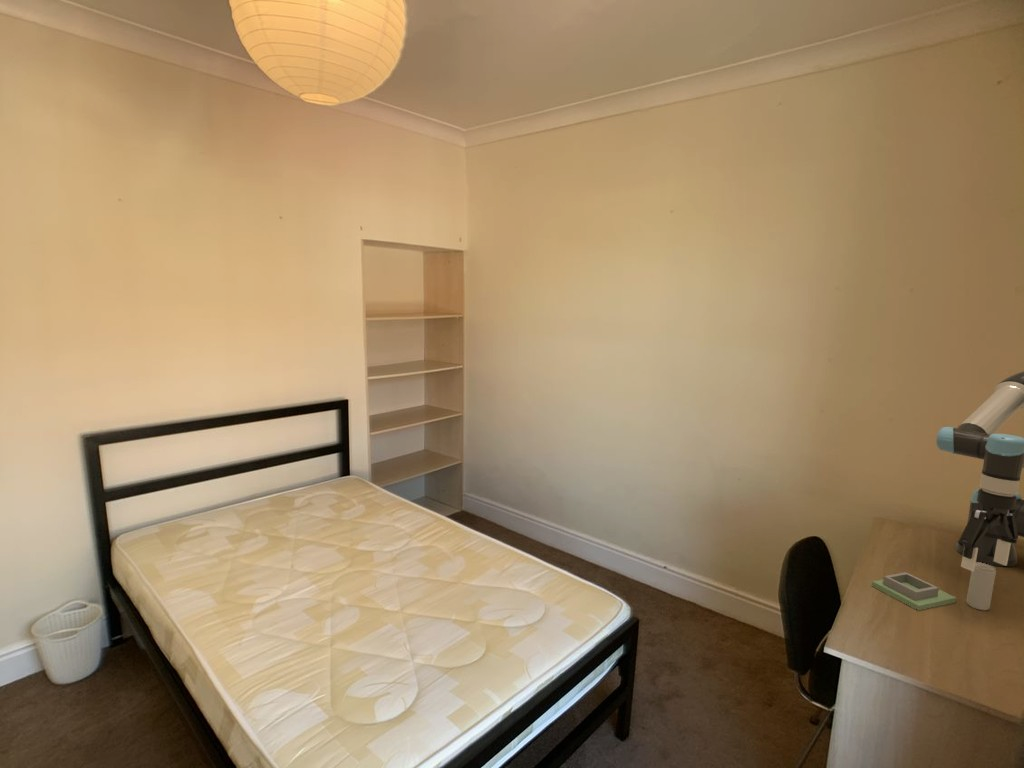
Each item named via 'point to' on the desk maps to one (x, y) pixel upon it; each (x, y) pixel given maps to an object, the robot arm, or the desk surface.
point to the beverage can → (981, 586)
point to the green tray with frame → (913, 591)
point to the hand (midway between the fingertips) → (983, 566)
